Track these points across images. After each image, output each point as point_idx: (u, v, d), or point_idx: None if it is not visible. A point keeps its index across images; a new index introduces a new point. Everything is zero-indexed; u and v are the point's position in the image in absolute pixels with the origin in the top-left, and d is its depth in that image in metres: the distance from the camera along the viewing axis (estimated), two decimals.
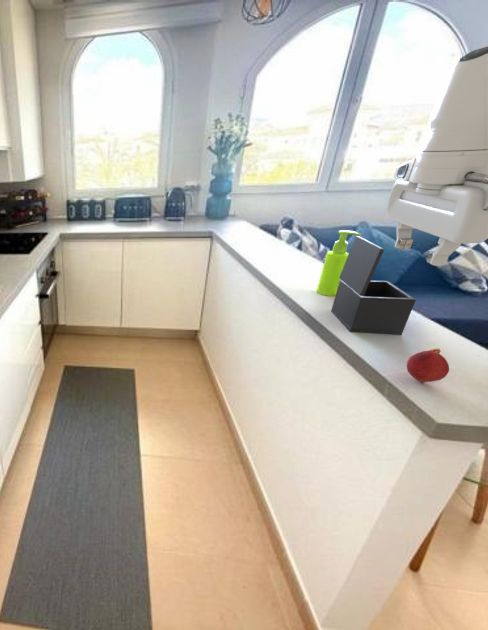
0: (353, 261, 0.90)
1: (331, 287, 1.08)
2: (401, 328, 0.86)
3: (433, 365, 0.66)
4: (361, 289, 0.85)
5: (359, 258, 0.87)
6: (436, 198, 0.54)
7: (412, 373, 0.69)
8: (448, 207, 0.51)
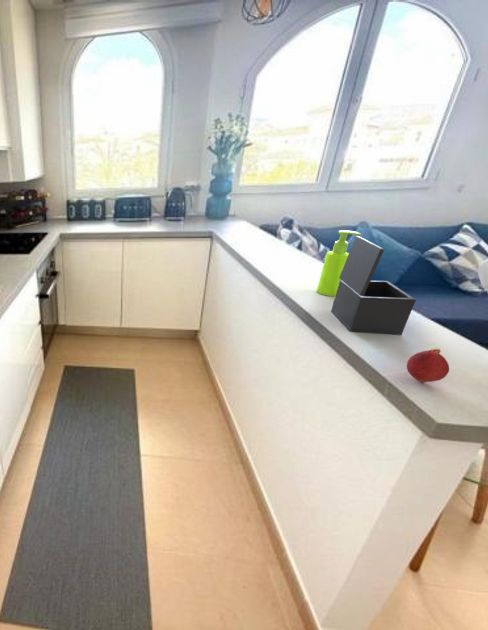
0: (353, 261, 0.90)
1: (331, 287, 1.08)
2: (401, 328, 0.86)
3: (433, 365, 0.66)
4: (361, 289, 0.85)
5: (359, 258, 0.87)
6: None
7: (412, 373, 0.69)
8: None
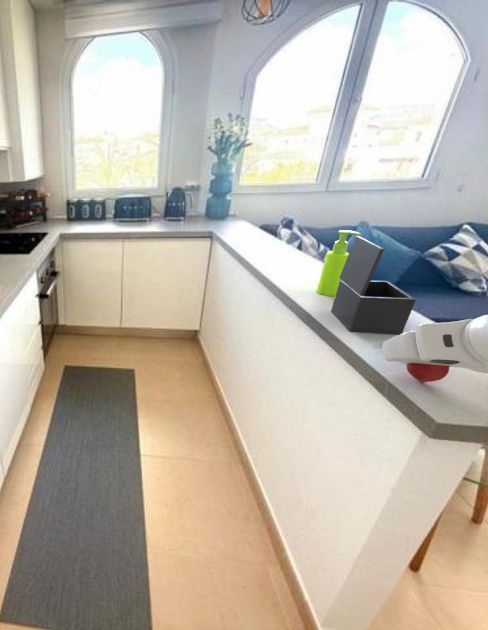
0: (353, 261, 0.90)
1: (331, 287, 1.08)
2: (401, 328, 0.86)
3: (433, 365, 0.66)
4: (361, 289, 0.85)
5: (359, 258, 0.87)
6: None
7: (412, 373, 0.69)
8: None
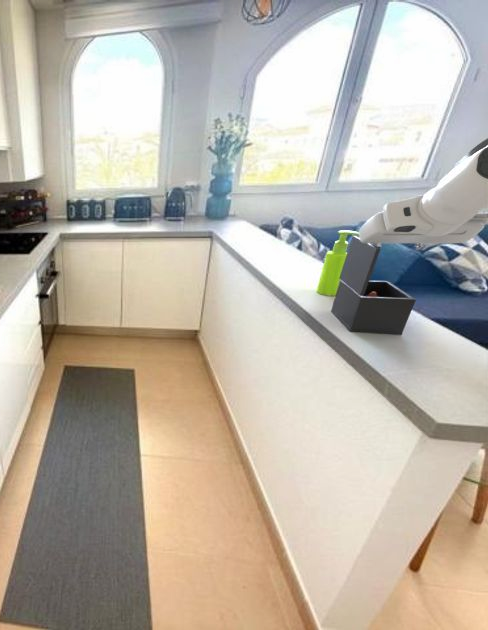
0: (351, 261, 0.90)
1: (331, 287, 1.08)
2: (401, 328, 0.86)
3: None
4: (361, 289, 0.85)
5: (356, 258, 0.88)
6: None
7: None
8: (453, 232, 0.74)
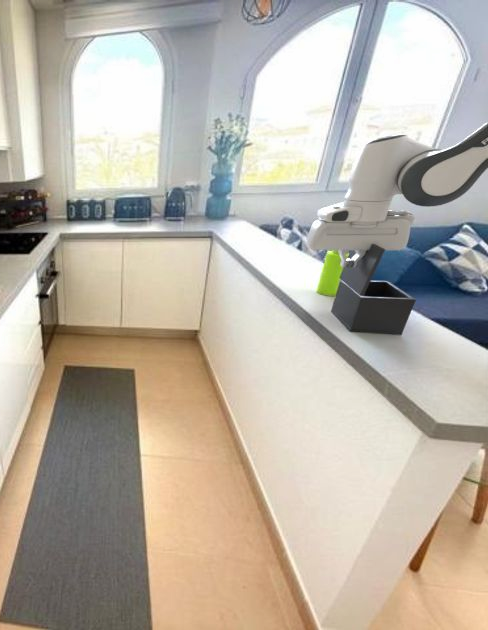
0: None
1: (331, 287, 1.08)
2: (401, 328, 0.86)
3: None
4: (361, 289, 0.85)
5: None
6: (371, 229, 0.82)
7: None
8: (387, 232, 0.82)
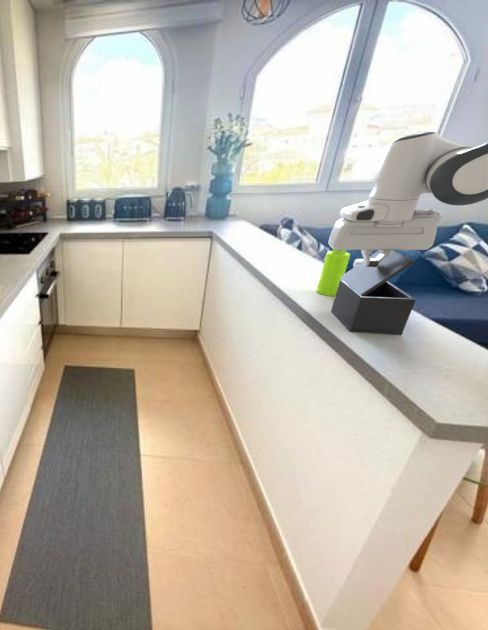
0: None
1: (331, 287, 1.08)
2: (401, 328, 0.86)
3: None
4: (365, 290, 0.84)
5: None
6: (396, 228, 0.81)
7: None
8: (413, 231, 0.80)
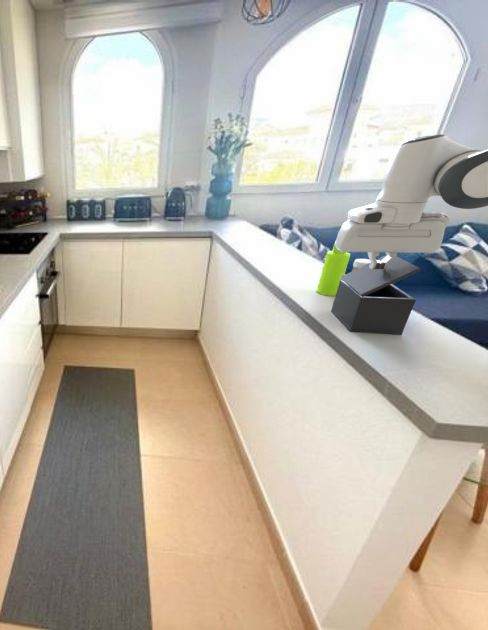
0: (371, 269, 0.90)
1: (331, 287, 1.08)
2: (401, 328, 0.86)
3: None
4: (366, 290, 0.84)
5: (381, 269, 0.87)
6: (404, 231, 0.81)
7: None
8: (420, 234, 0.80)
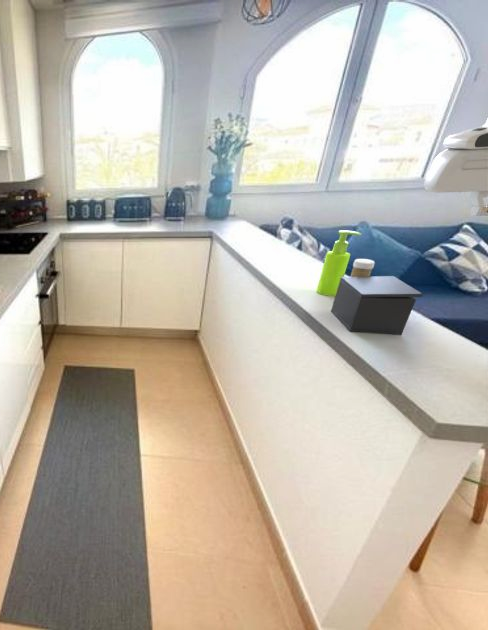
0: (373, 281, 0.91)
1: (331, 287, 1.08)
2: (401, 328, 0.86)
3: None
4: (368, 293, 0.85)
5: (384, 283, 0.88)
6: None
7: None
8: None
